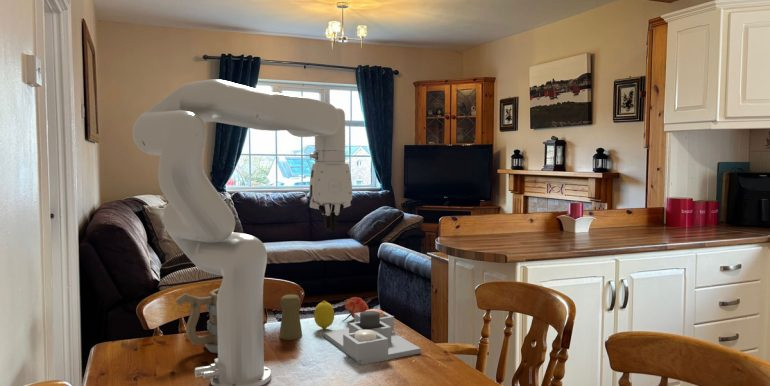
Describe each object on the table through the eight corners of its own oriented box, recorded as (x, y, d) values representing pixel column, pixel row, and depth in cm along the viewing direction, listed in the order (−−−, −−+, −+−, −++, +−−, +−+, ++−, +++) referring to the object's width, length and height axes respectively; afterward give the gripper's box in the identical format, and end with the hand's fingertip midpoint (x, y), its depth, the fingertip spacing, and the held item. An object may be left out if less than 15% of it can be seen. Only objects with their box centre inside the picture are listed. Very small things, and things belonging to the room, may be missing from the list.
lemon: (331, 333, 153) (330, 304, 153) (311, 331, 154) (311, 303, 154) (336, 327, 159) (336, 298, 158) (317, 325, 160) (317, 297, 159)
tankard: (248, 334, 152) (247, 279, 151) (265, 347, 142) (264, 288, 141) (170, 347, 142) (169, 288, 141) (182, 363, 131) (181, 299, 130)
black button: (365, 333, 140) (365, 317, 140) (356, 327, 145) (356, 312, 145) (383, 330, 143) (383, 314, 143) (374, 324, 147) (374, 309, 147)
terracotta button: (369, 330, 150) (369, 315, 149) (361, 325, 154) (361, 310, 154) (386, 327, 152) (386, 312, 152) (377, 322, 156) (377, 308, 156)
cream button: (360, 354, 132) (360, 337, 131) (351, 347, 136) (351, 331, 136) (379, 350, 134) (379, 334, 134) (370, 344, 138) (370, 328, 138)
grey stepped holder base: (357, 365, 130) (357, 344, 129) (319, 336, 150) (319, 318, 150) (424, 352, 138) (424, 332, 138) (380, 327, 159) (380, 309, 158)
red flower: (350, 333, 160) (377, 311, 161) (334, 313, 160) (361, 290, 161) (349, 328, 167) (375, 306, 168) (333, 309, 167) (360, 287, 168)
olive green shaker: (276, 334, 152) (276, 293, 152) (298, 331, 155) (298, 291, 154) (282, 340, 147) (282, 299, 146) (305, 337, 149) (304, 296, 149)
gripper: (307, 158, 134) (307, 234, 136) (363, 157, 141) (363, 230, 143) (296, 157, 141) (297, 231, 142) (350, 157, 148) (351, 227, 149)
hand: (330, 230), depth 142 cm, fingers closed
